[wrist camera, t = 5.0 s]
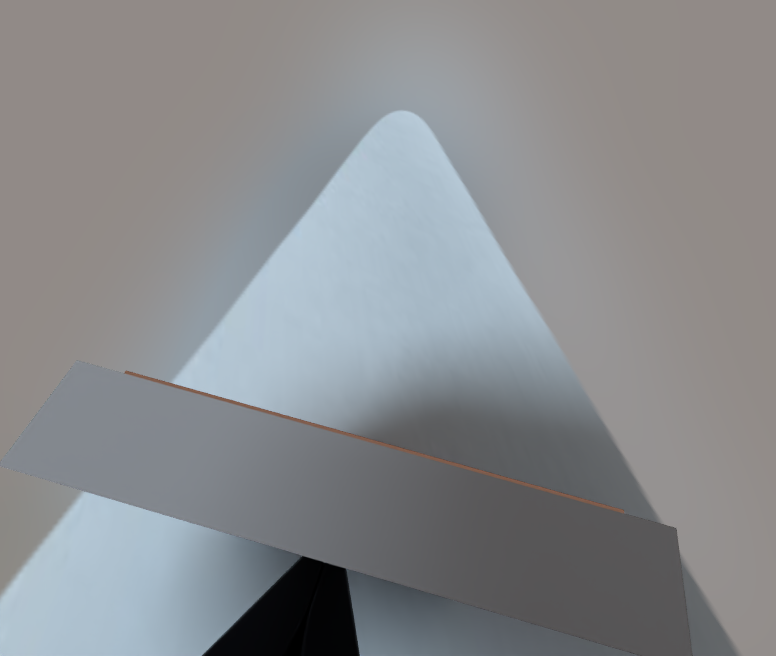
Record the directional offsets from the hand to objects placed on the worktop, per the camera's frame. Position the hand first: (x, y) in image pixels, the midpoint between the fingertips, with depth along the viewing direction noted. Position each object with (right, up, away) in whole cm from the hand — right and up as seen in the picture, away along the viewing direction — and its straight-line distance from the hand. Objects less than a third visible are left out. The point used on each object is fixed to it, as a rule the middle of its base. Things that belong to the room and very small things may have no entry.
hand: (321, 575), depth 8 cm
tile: (0, -3, +6) cm, 7 cm away
